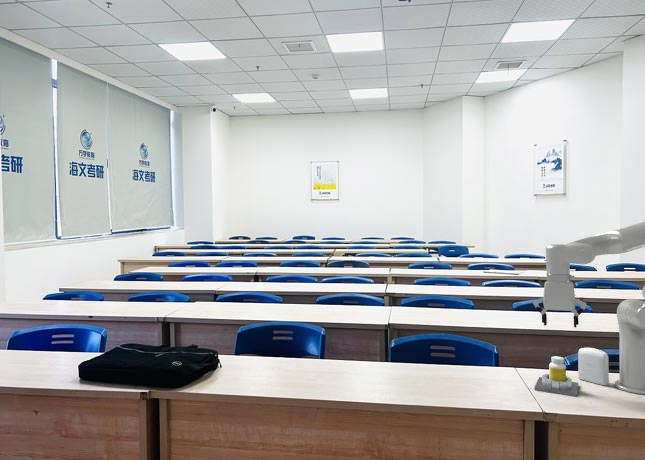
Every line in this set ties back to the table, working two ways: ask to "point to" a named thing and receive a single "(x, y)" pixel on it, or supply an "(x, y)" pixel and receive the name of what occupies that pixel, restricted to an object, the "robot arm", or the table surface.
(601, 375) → the photo printer
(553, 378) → the supplement bottle
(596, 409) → the table surface
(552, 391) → the ring collar block
